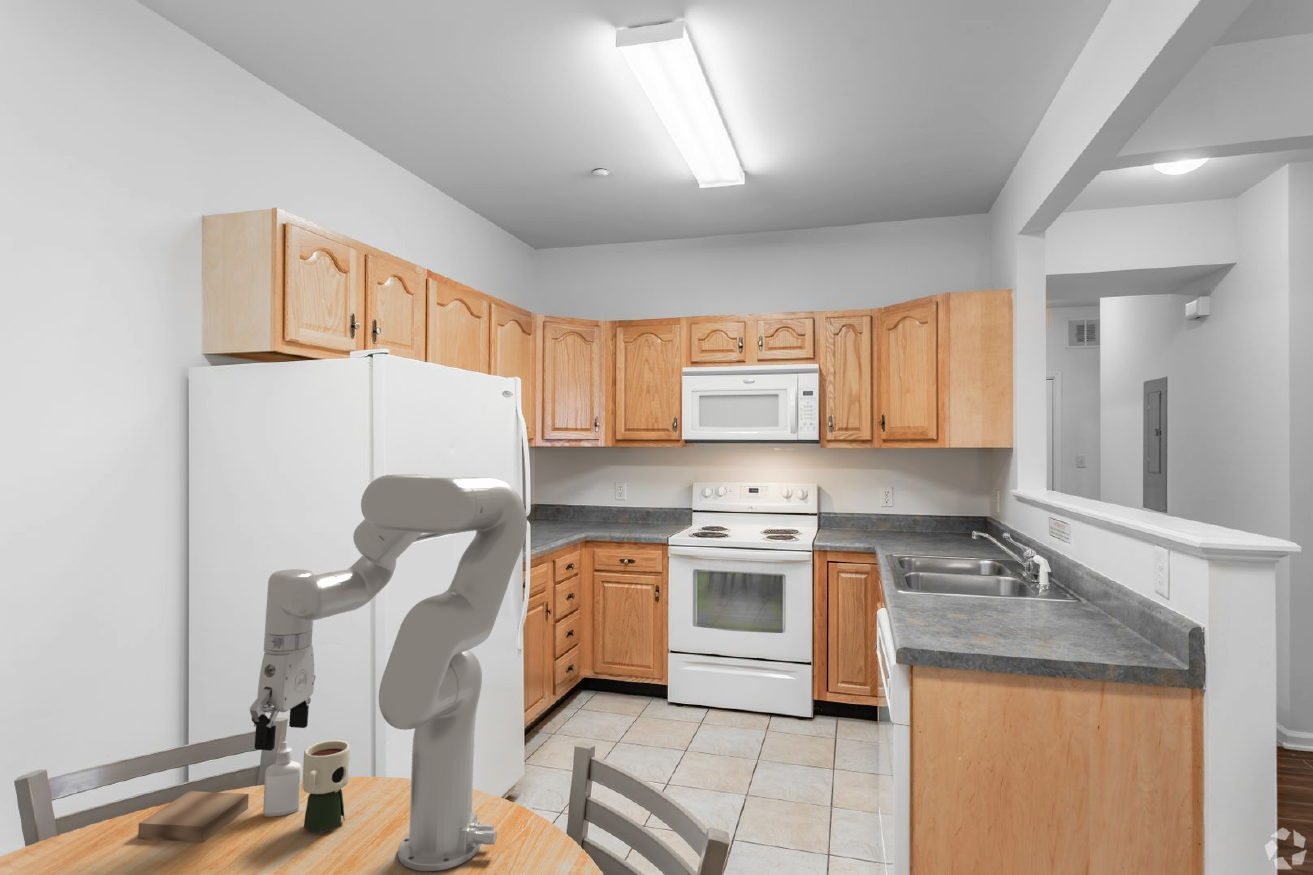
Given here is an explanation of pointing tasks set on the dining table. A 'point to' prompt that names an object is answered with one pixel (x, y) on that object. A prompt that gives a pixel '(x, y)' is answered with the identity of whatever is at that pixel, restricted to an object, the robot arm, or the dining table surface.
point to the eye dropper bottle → (282, 784)
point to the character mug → (325, 783)
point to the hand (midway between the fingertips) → (281, 737)
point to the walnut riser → (193, 816)
